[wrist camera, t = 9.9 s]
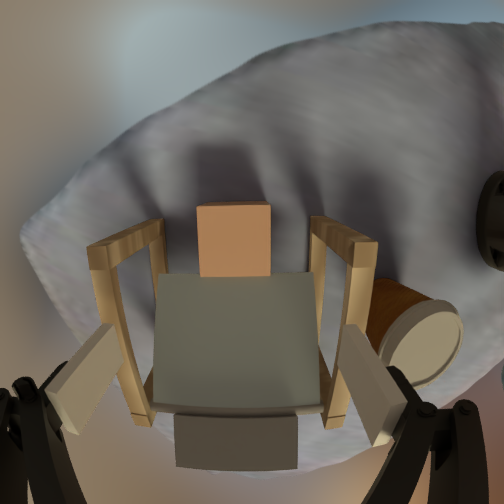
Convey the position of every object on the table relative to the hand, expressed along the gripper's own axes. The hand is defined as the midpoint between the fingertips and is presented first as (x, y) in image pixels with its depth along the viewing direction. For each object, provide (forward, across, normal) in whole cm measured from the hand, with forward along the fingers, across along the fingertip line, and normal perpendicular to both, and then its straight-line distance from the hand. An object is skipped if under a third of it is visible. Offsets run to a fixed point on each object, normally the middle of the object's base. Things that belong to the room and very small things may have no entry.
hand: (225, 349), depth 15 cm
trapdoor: (+7, 0, +7) cm, 10 cm away
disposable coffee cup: (+16, -17, +5) cm, 24 cm away
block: (+13, 0, -1) cm, 13 cm away
